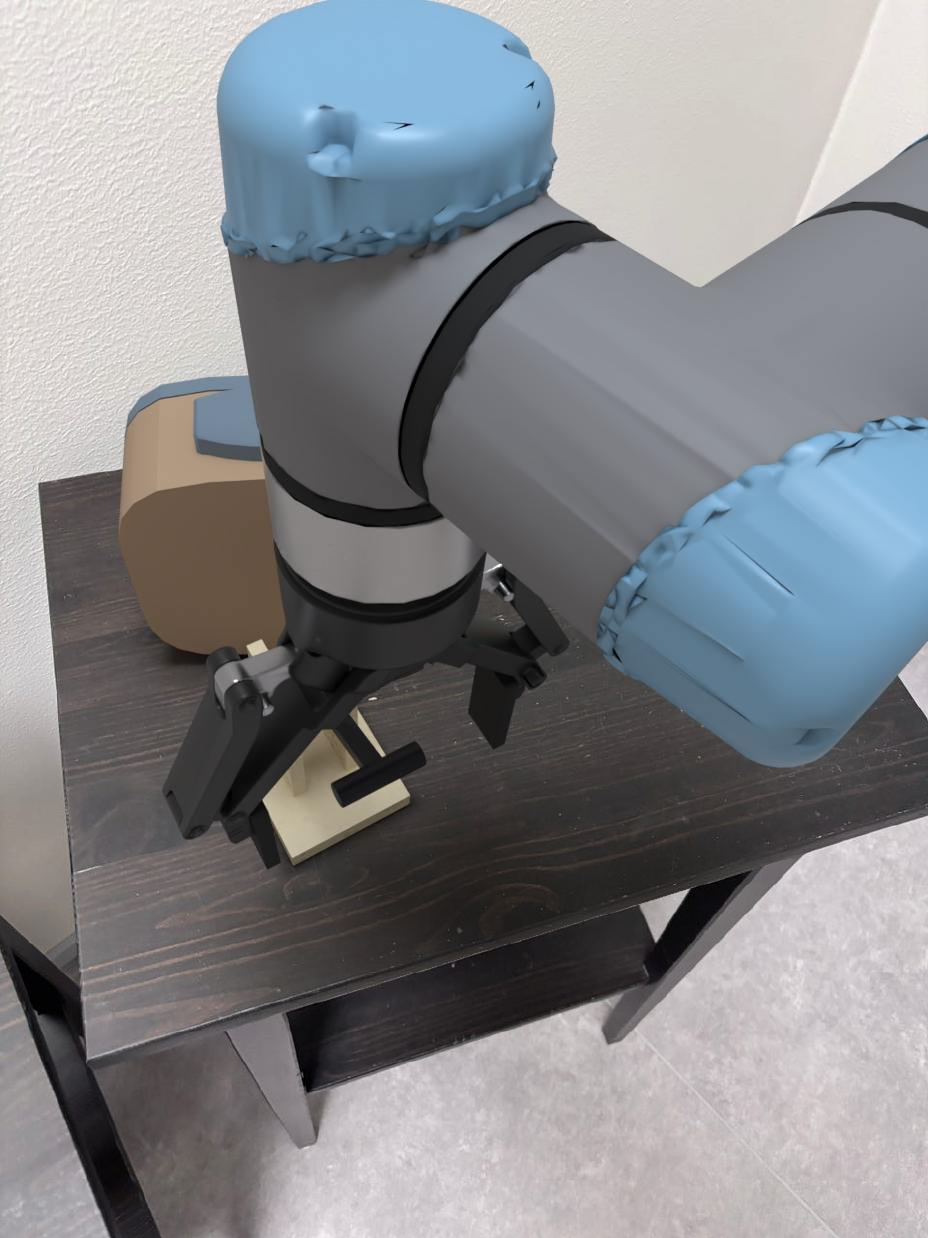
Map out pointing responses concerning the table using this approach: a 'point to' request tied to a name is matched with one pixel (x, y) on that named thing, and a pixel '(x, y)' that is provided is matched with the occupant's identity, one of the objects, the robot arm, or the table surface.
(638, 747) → the table surface
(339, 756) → the hinged lever switch
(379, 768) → the lever
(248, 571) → the alarm clock
